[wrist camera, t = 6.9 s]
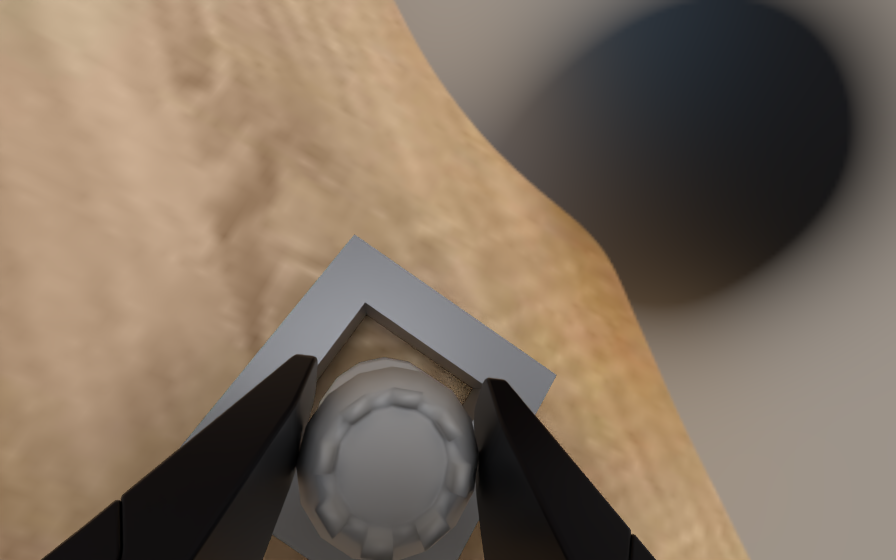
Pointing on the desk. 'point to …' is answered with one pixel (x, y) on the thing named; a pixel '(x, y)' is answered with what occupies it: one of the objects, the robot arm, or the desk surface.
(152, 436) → the desk surface
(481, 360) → the hollow square block
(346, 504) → the rook chess piece
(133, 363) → the desk surface
